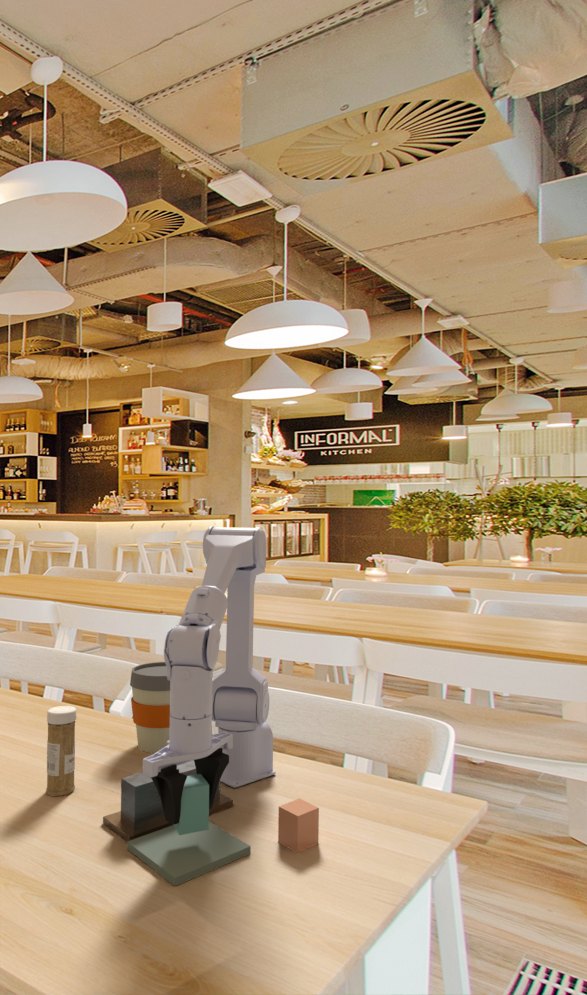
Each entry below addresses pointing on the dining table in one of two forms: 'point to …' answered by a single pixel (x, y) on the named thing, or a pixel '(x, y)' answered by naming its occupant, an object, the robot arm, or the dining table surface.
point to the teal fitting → (194, 806)
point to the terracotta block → (298, 825)
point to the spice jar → (61, 750)
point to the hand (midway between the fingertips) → (189, 813)
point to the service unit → (149, 805)
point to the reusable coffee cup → (151, 705)
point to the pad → (187, 852)
